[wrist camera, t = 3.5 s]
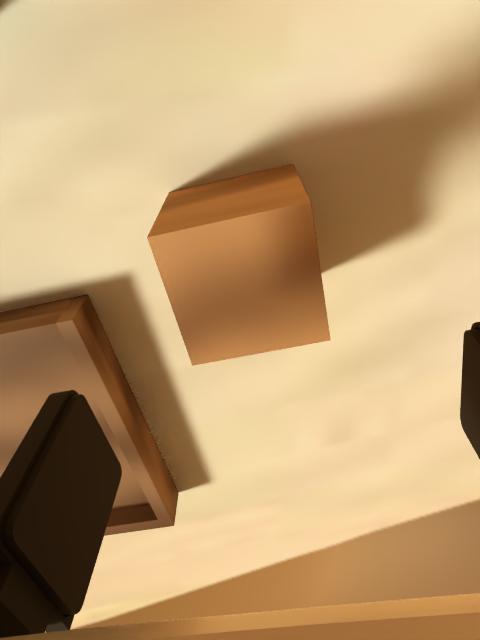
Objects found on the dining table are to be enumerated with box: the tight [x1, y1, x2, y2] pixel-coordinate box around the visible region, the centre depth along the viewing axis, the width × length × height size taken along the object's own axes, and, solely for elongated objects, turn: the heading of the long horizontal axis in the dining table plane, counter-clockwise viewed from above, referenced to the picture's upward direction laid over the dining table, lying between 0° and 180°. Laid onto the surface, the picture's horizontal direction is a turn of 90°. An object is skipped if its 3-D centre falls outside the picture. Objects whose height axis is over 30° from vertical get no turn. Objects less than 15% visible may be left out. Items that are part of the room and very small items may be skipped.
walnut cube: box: [147, 164, 330, 366], centre depth 18 cm, size 6×6×6 cm
